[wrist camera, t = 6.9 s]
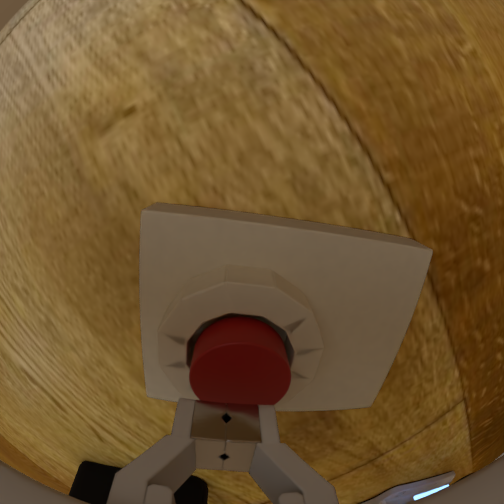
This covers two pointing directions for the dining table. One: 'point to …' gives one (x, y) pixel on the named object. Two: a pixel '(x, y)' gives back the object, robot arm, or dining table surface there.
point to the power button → (240, 363)
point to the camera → (101, 478)
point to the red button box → (277, 298)
